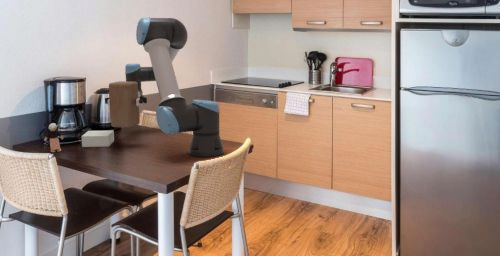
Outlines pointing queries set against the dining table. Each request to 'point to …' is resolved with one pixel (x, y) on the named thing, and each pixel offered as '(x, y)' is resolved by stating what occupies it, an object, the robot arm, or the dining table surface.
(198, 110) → the robot arm
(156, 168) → the dining table surface
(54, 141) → the grandmother figurine
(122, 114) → the wooden block
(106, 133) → the base brick
